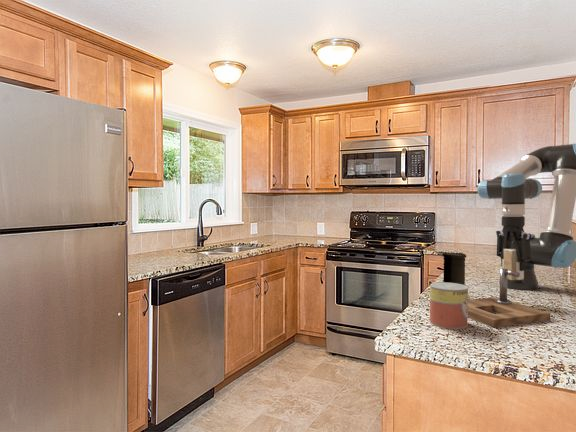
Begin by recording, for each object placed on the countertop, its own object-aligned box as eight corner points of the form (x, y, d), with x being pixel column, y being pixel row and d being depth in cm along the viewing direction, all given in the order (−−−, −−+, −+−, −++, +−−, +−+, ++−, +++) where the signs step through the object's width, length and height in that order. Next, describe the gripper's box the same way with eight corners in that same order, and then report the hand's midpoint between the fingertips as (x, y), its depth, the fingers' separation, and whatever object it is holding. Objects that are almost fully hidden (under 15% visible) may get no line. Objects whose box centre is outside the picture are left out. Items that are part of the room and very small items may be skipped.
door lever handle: (503, 300, 147) (503, 267, 147) (523, 306, 139) (523, 271, 139) (492, 301, 146) (492, 268, 145) (511, 307, 138) (512, 272, 137)
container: (465, 297, 161) (465, 252, 160) (467, 303, 153) (468, 255, 152) (441, 296, 164) (441, 251, 163) (441, 301, 156) (442, 254, 155)
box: (503, 277, 154) (502, 248, 153) (513, 277, 154) (513, 248, 154) (512, 280, 149) (511, 250, 148) (523, 279, 149) (522, 249, 149)
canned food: (464, 331, 121) (465, 291, 121) (425, 325, 127) (426, 287, 127) (470, 321, 131) (470, 284, 130) (433, 316, 137) (434, 280, 136)
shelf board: (496, 303, 152) (496, 297, 152) (550, 320, 131) (550, 312, 131) (445, 308, 145) (445, 302, 145) (493, 327, 124) (493, 319, 124)
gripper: (485, 214, 158) (485, 273, 159) (526, 217, 140) (526, 283, 142) (500, 214, 160) (500, 272, 162) (543, 216, 142) (542, 281, 144)
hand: (512, 277), depth 152 cm, fingers closed on box, 6 cm apart
